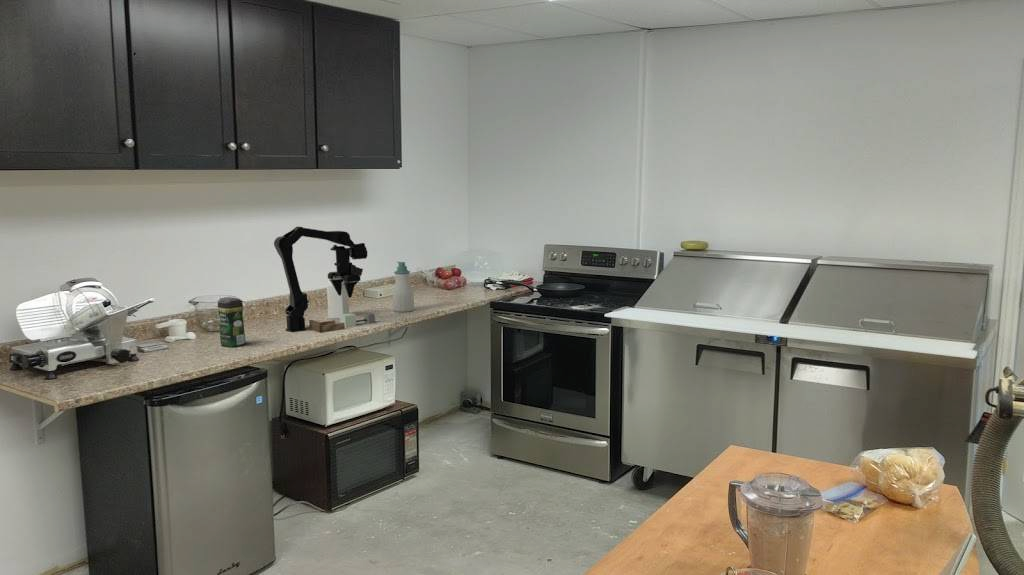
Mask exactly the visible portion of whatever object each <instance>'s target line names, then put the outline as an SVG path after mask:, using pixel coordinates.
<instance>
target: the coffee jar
mask: <svg viewBox="0 0 1024 575" xmlns="http://www.w3.org/2000/svg"><path fill="white" fill-rule="evenodd" d="M217 311H218V312H217V313H218V318H219V321H218V322H219V343H220V345H221V346H224V347H228V348H232V347H236V346H238V347H242V346H243V345H245V344H246V343H247V342H246V334H245V333H246V332H245V326H244V324H245V323H244V315H243V314H244V304H243V300H242V299H240V298H235V297H230V296H227V297H220V298H219V299H218V300H217Z"/></svg>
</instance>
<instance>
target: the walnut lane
mask: <svg viewBox="0 0 1024 575" xmlns="http://www.w3.org/2000/svg"><path fill="white" fill-rule="evenodd" d="M344 329H346V328H345V324H344V323H340V322H338V323H336V319H335V320H326V321H318V320H314V319H309V330H310V331H314V332H317V333H327V332H331V331H332V332H333V331H338V330H344Z"/></svg>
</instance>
